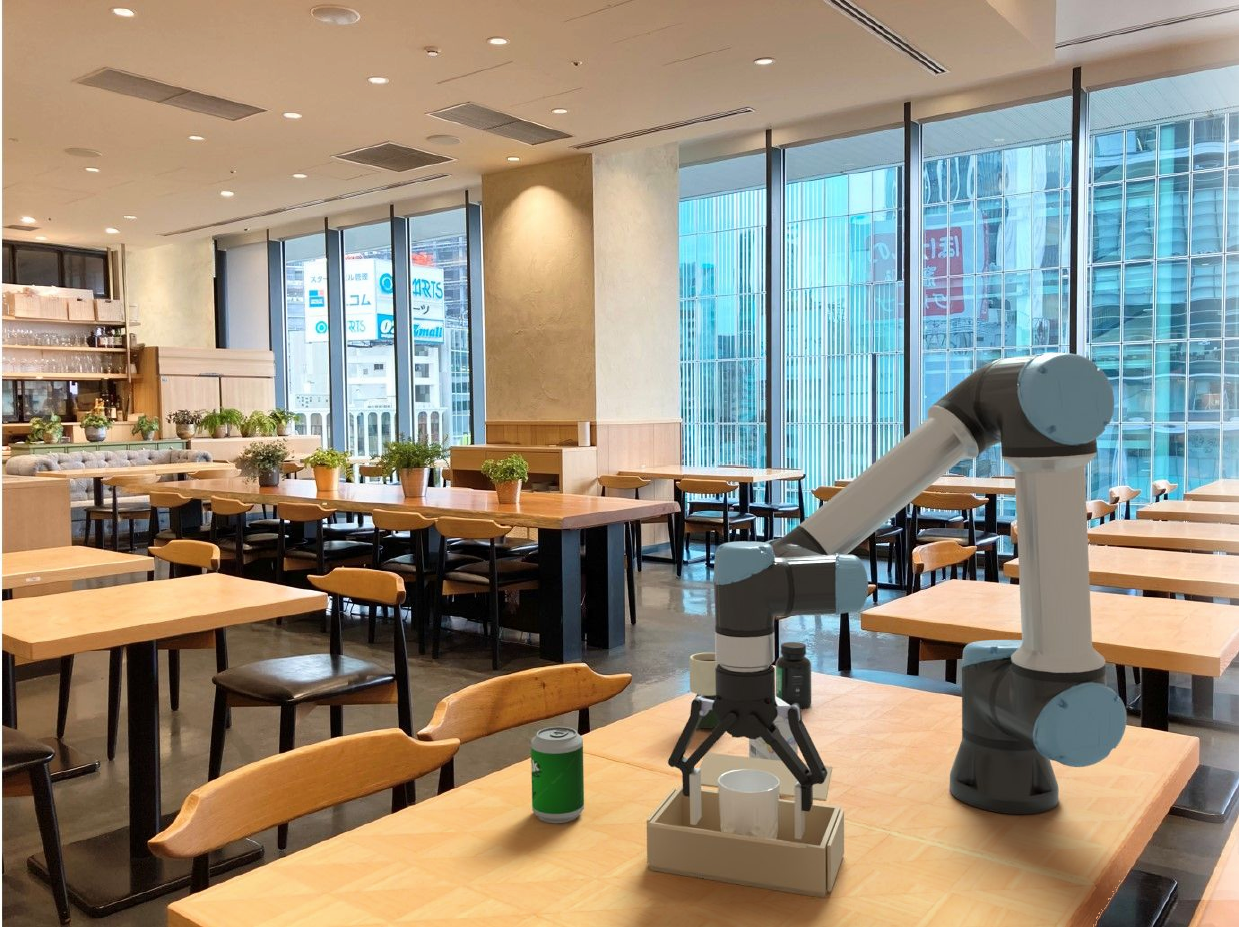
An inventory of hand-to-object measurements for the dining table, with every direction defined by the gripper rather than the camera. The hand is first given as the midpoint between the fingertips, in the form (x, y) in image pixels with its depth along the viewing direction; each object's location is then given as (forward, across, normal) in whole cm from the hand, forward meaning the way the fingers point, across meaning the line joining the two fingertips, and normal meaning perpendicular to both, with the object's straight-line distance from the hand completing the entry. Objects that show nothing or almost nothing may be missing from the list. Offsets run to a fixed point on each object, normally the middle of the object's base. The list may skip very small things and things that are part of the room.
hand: (746, 827), depth 127 cm
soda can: (+4, +29, -5) cm, 30 cm away
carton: (+4, 0, 0) cm, 4 cm away
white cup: (+4, 0, 0) cm, 4 cm away
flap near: (-2, 0, +7) cm, 7 cm away
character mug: (+5, +19, -50) cm, 54 cm away
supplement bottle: (+5, +7, -68) cm, 69 cm away
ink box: (+5, +3, -30) cm, 31 cm away
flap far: (-2, 0, -7) cm, 7 cm away
